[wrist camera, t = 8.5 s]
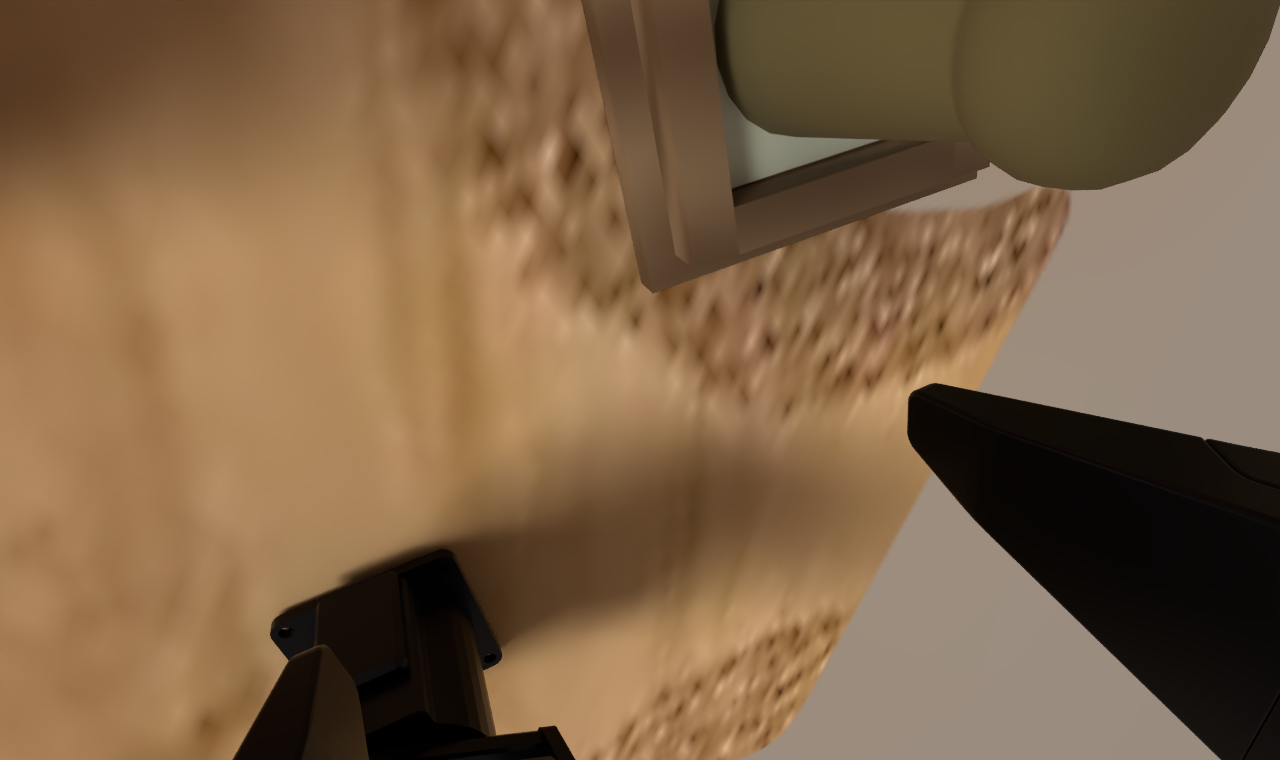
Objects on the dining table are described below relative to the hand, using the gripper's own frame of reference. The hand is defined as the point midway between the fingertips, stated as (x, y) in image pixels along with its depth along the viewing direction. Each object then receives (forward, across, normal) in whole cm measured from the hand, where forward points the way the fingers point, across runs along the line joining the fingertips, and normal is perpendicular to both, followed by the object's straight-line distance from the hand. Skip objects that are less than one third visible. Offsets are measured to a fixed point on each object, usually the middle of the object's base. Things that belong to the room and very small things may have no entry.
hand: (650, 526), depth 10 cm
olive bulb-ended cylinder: (+12, -11, -4) cm, 17 cm away
